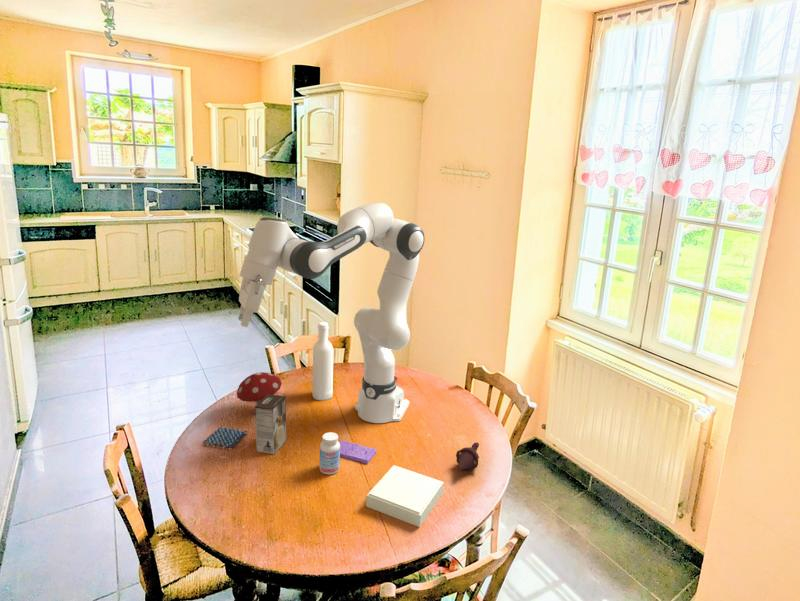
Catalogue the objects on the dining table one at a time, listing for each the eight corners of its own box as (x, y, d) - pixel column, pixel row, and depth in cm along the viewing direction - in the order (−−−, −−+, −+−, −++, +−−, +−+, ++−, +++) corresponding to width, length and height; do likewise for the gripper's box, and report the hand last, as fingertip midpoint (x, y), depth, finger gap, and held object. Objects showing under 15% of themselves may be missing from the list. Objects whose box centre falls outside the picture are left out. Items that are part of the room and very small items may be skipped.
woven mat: (219, 430, 172) (218, 425, 171) (248, 435, 170) (247, 429, 170) (201, 447, 162) (201, 441, 162) (232, 452, 160) (231, 446, 160)
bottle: (307, 396, 198) (308, 323, 189) (322, 389, 204) (322, 318, 195) (323, 402, 193) (323, 328, 185) (337, 395, 200) (338, 323, 191)
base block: (393, 475, 152) (393, 463, 151) (442, 492, 146) (443, 480, 144) (366, 506, 138) (366, 493, 137) (419, 527, 132) (420, 514, 131)
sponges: (367, 465, 157) (368, 460, 157) (331, 455, 161) (331, 450, 161) (376, 453, 164) (377, 448, 163) (341, 444, 168) (342, 439, 167)
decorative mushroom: (271, 425, 176) (270, 386, 172) (228, 419, 178) (226, 380, 174) (289, 404, 191) (288, 367, 187) (249, 398, 193) (248, 362, 189)
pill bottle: (320, 476, 150) (321, 442, 147) (318, 464, 156) (318, 431, 153) (341, 474, 152) (341, 440, 149) (338, 462, 157) (338, 429, 154)
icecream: (474, 466, 148) (489, 446, 161) (451, 453, 151) (469, 434, 164) (465, 485, 150) (481, 463, 163) (444, 471, 153) (461, 451, 166)
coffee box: (268, 436, 169) (267, 392, 164) (286, 439, 168) (286, 395, 163) (255, 451, 160) (254, 406, 156) (274, 455, 159) (273, 409, 155)
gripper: (274, 280, 130) (258, 332, 130) (264, 275, 148) (250, 320, 149) (249, 273, 127) (233, 326, 127) (242, 269, 146) (228, 315, 146)
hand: (242, 323), depth 138 cm, fingers open, 8 cm apart
